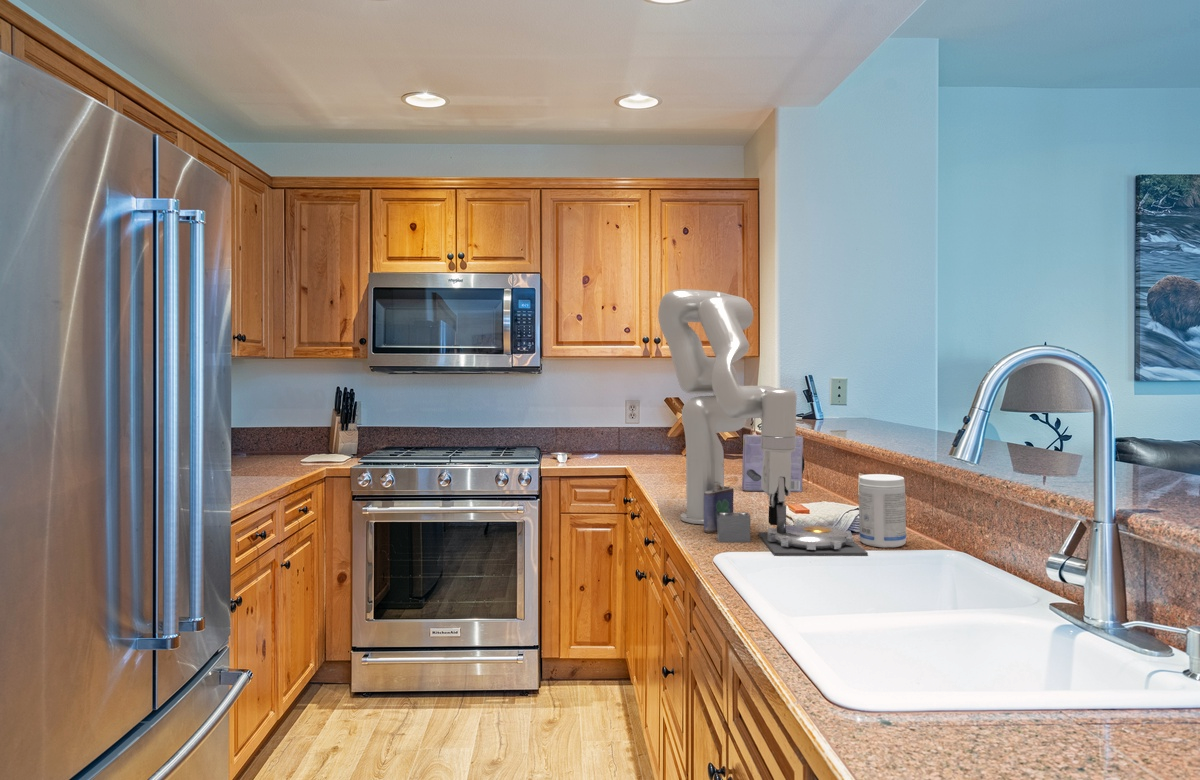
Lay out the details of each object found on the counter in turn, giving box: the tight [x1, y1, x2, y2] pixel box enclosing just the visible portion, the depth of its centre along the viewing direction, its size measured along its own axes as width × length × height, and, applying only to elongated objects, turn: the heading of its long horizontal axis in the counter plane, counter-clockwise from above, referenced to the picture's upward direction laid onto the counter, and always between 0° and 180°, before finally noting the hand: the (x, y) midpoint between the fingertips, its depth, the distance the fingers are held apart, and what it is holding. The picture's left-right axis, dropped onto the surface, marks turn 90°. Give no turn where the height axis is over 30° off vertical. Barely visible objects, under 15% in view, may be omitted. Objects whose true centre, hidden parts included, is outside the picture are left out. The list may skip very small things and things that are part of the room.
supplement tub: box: [858, 473, 907, 549], centre depth 161 cm, size 10×10×15 cm
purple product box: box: [741, 434, 806, 493], centre depth 230 cm, size 19×5×18 cm, turn 84°
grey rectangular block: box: [716, 511, 751, 543], centre depth 165 cm, size 4×7×6 cm, turn 88°
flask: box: [703, 481, 735, 534], centre depth 176 cm, size 10×3×12 cm, turn 133°
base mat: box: [757, 531, 869, 557], centre depth 161 cm, size 19×19×1 cm
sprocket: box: [767, 504, 854, 550], centre depth 160 cm, size 18×18×7 cm
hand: (776, 524), depth 165 cm, fingers closed
